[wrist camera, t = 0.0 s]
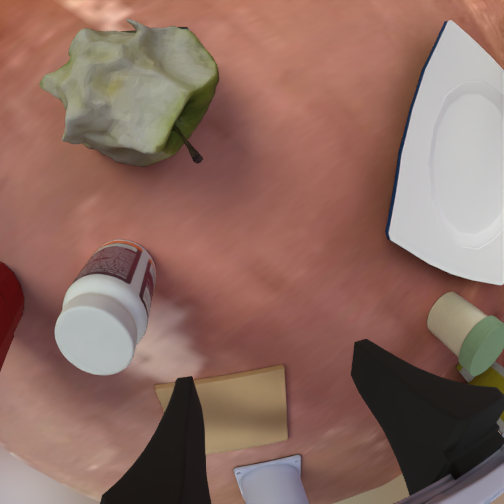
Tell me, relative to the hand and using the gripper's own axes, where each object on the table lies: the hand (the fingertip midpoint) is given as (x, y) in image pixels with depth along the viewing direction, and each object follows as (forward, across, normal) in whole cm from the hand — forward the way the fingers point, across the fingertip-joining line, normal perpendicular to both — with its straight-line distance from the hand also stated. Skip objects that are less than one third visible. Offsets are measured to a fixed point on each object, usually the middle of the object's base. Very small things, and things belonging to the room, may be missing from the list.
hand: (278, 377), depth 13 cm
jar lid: (+3, -20, +8) cm, 22 cm away
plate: (+10, -22, -7) cm, 25 cm away
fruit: (+10, +5, -13) cm, 17 cm away
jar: (+10, -20, +8) cm, 24 cm away
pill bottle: (+10, +8, -2) cm, 13 cm away
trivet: (+10, +3, +14) cm, 18 cm away
